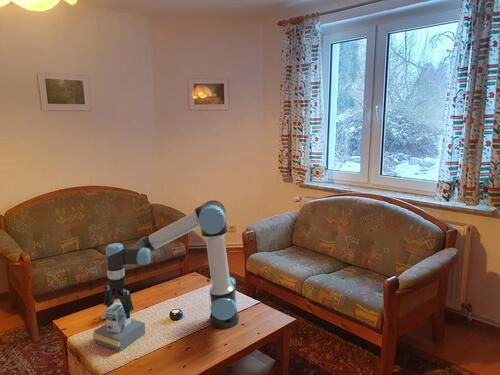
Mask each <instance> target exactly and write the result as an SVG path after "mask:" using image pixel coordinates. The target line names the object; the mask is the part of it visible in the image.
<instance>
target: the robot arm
mask: <svg viewBox="0 0 500 375" xmlns="http://www.w3.org/2000/svg"><path fill="white" fill-rule="evenodd" d="M226 212H227V211H226V207H225V206H224V204H223V203H221V202H220V201H218V200H215V199H213V200H209V201H206V202H204V203H202V204H201V205H200V206H198V207H195V209H194V211H193V212H191V213H189V214H187V215H186V216H184V217H181V218H179V219H177V220H176V221H174V222H172V223H170V224H168V225H166V226H165V227H162V228H161V229H159V230H157V231H154V232H153V233H151V234H149V235H148V236H142V237H141V238H139V239H138V240H137V242H136V243H135V245H134V247H130V248H127V247H125V248H124V245H123V243H120V242H115V243H110V244H108V245H106V247H105V260H106V272H107V285H106V286H104V297H103V298H104V300H103V305H104V306H106V308H108V307H110V306H111V305H112V304H114V303H115V298H116V297H117V299H118V300H120V301H121V304H122V306H123V309H124V311H125V312H124V326H126V325H128V324H129V323H130V319H129V318H130V312H131V313H132V311H134V306H133V302H132V298H131V290H130V289H125V285H126V273H125V272H126V271H125V266H129V265H130V266H137V265H139V266H142V265H149V264H150V263H151V258H152V252H153V251H156V250H157V249H158V248H159V249H160V248H161V247H162V246H165V245H167V244H169V243H171V242H172V241H174V240H177V239H178V238H180V237H182V236H184V235H186V234H188V233H190V232H192V231H194V230H196V229H197V228H199V227H200V230H201V236H202V237H203V238H205V244H206V249H207V250H206V251H207V258H208V266H209V272H210V273H209V274H210V280H211V281H210V282H211V287H210V288H209V298H210V311H211V312H210V315H209V323H210V325H212V326H214V327H215V328H219V329H227V328H228V329H229V328H231V327H235V326H236V325H237V324H239V322H240V315H239V312H238V309H237V298H236V294H237V293H236V284H237V283H236V279H235V278H234V277H232V276H230V270H229V263H228V262H229V261H228V253H227V247H226V246H227V245H226V237H225V236H226V234H228V227H227V221H226V220H227V219H226V217H227V216H226V214H227V213H226Z"/></svg>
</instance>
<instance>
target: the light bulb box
mask: <svg viewBox="0 0 500 375" xmlns="http://www.w3.org/2000/svg"><path fill="white" fill-rule="evenodd" d="M106 308H107V309H106V310H104V311H105V313H104V315H105V314H106V318H105V324H106V328H107V331H110V332H115V333H119V332H120V331H121V330H123V329H124V328H125V327H126V326H127V325H126V326H124V312H125V311H124V309H123V306H122V304H121V301H120V300H119V299H118V300H117V299H116V301H114V302H113V304H112V305H111V306H110V307H106ZM131 313H132V311H131V312H130V318H129V319H130V323H131V319H132V315H131ZM130 323H129V324H130Z"/></svg>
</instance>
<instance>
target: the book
mask: <svg viewBox="0 0 500 375" xmlns="http://www.w3.org/2000/svg"><path fill="white" fill-rule="evenodd" d="M145 324H146V323H145V322H143V321H141V320H137V319H134V318H131V323H130V324H128V325H127V326H126V327H125V328H124V329H123V330H121V331H120V332H119V333H115V332H110V331H107V328H106V323H104V324H103V325H102V326H100V327H98V328H96V329H95V330H93V333H92V338H93V339H94V343H95V342H97V343H96V344H98V343H100V344H103V345H105V346H104V347H106V346H108V347H110V348H109V349H111V348H113V349H112V350H114V349H115V350H114V351H117V350H118V351H117V352H119V351H121V352H123V351H124V350H125V349H126V348H128V347H129V346H131V345H132V344H134V343H135V342H136V341H138V340H139V339H140V338H142V337H144V334H145V335H146V325H145ZM141 336H142V337H141ZM137 339H138V340H137ZM134 341H135V342H134ZM131 343H132V344H131ZM100 344H99V345H100ZM130 344H131V345H130ZM103 345H102V346H103ZM127 346H128V347H127ZM108 347H107V348H108ZM124 348H125V349H124ZM123 349H124V350H123Z"/></svg>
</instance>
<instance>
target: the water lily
mask: <svg viewBox="0 0 500 375" xmlns="http://www.w3.org/2000/svg"><path fill="white" fill-rule="evenodd" d="M107 308H108V307H106V308H105V307H104V308H103V311H100V312H99V313H100V314H103V317H102V318H100V320H101V321H102V320H106V314H105V310H106V309H107Z"/></svg>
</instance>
